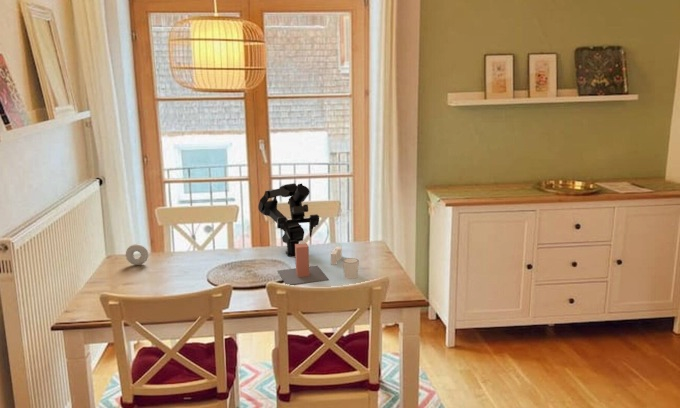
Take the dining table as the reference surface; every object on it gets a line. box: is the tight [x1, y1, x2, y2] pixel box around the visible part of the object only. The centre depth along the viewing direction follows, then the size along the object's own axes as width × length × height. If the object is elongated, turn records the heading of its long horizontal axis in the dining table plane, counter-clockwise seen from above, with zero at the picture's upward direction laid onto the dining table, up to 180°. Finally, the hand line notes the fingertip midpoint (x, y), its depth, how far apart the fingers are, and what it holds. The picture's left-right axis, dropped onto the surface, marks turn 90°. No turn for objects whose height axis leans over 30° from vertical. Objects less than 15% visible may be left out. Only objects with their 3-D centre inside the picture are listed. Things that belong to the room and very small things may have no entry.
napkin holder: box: [330, 245, 343, 266], centre depth 266 cm, size 15×11×6 cm
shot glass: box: [342, 257, 360, 280], centre depth 245 cm, size 7×7×7 cm
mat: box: [277, 265, 330, 286], centre depth 248 cm, size 18×18×1 cm
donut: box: [125, 243, 149, 266], centre depth 265 cm, size 10×4×10 cm, turn 95°
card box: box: [294, 242, 310, 277], centre depth 247 cm, size 5×5×13 cm
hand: (300, 237), depth 259 cm, fingers open, 9 cm apart
